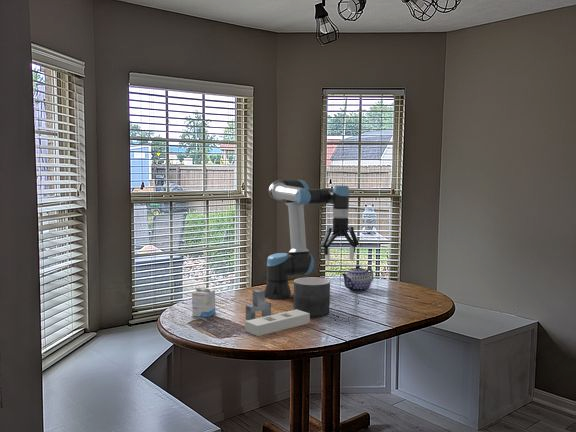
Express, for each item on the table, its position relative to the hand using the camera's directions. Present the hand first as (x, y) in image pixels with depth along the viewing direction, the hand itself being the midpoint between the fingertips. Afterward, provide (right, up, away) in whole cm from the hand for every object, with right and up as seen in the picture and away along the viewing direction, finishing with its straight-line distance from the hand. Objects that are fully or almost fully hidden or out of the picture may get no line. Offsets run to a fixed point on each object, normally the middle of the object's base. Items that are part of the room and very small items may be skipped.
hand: (339, 260), depth 256 cm
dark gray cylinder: (-14, -26, +1) cm, 29 cm away
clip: (-39, -26, -9) cm, 48 cm away
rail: (-30, -28, -23) cm, 47 cm away
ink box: (-66, -26, -4) cm, 71 cm away
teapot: (+15, -22, +49) cm, 55 cm away
